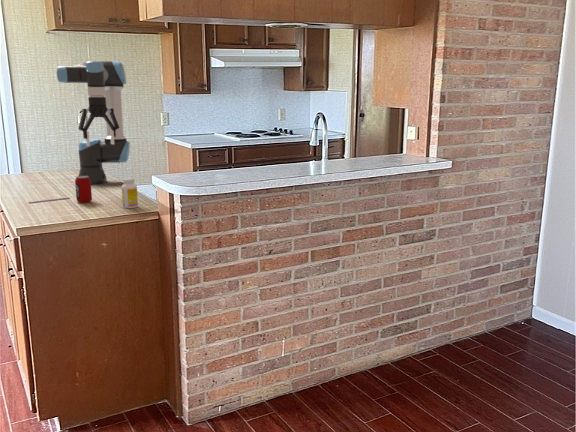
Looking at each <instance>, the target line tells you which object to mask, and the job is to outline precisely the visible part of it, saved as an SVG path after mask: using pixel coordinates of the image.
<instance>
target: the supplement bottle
mask: <svg viewBox="0 0 576 432" xmlns="http://www.w3.org/2000/svg"><path fill="white" fill-rule="evenodd" d="M122 181H123V184H122V185H121V198H122V199H121V200H122V207H123V208H124V209H135V208H138V207H139V200H138V186H137V184H135V178H134V177H133V178H132V177H130V178H129V177H128V178H122Z"/></svg>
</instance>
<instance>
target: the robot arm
mask: <svg viewBox="0 0 576 432" xmlns="http://www.w3.org/2000/svg"><path fill="white" fill-rule="evenodd" d="M126 77H127V76H126V71H125V68H124V64H123V63H122V62H120V61H113V60H112V61H111V60H110V61H109V60H107V61H105V60H104V61H98V60H97V61H95V60H94V61H93V60H91V61H86V62H81V63H77V64H76V65H59V66H57V68H56V78H57V81H58V82H59V83H63V84H72V83H73V84H76V83H79V84H87V96H88V108H82V109H81V112H82V113H81V117H80V121H79V126H78V130H79V131H82V133H83V139H85V140H82V141H80V142H79V143H78V158H79V172H78V176H89V178H90V181H91V185H97V184H103V183H107V181H108V180H107V179H108V178H107V175H106V173H105V170H104V167H103V164H107V163H109V164H110V163H111V164H115V163H116V164H117V163H118V164H120V163H121V164H122V163H127V162H128V161H129V158H130V145H131V144H130V141H128V140H127V137H126V136H125V135H124V125H123V123H124V121H123V107H122V104H123V103H122V90H123V89H124V86H125V85H126V84H127V78H126ZM88 113H90V115H89V117H88V119H86V118H87V115H88ZM95 118H103V119H104V121H105V123H106V136H105V137H104V138H103V139H104V141H102V140H101V139H100V138H93V139H90V132H89V131H88V129H90V128H89V127H90V126H91V124H92V122H93V120H94V119H95ZM86 120H87V121H86ZM85 122H86V123H85Z"/></svg>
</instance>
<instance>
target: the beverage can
mask: <svg viewBox="0 0 576 432" xmlns="http://www.w3.org/2000/svg"><path fill="white" fill-rule="evenodd" d="M74 186H75V197H76V202H78V203H79V204H87V203H91V201H93V197H92V196H93V194H92V184H91V181H90V178H89V176H79V175H77V176H76V177H75V180H74Z"/></svg>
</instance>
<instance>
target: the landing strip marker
mask: <svg viewBox="0 0 576 432" xmlns="http://www.w3.org/2000/svg"><path fill="white" fill-rule="evenodd" d="M68 199H70V197H63V198H61V197H60V198H53V199H44V200H36V201H35V200H34V201H28V204H35V203H45V202H53V201H60V200H62V201H63V200H68Z"/></svg>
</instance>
